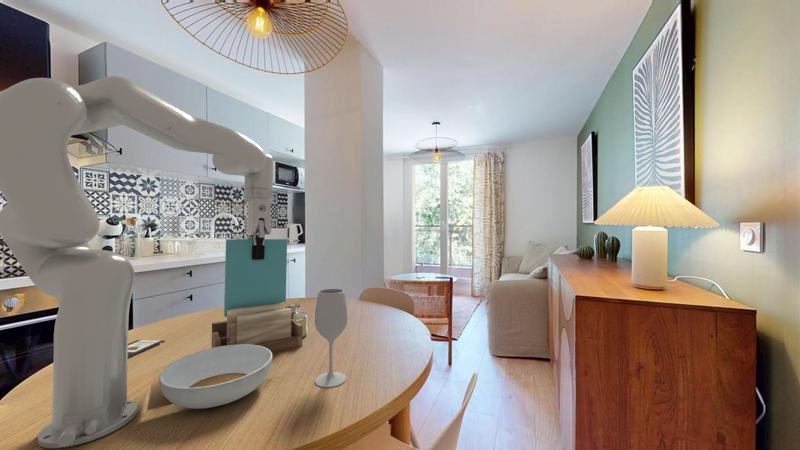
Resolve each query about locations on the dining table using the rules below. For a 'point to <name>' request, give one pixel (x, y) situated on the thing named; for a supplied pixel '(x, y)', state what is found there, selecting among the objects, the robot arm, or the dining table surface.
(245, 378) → the serving bowl
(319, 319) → the wineglass
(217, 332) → the walnut rack
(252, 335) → the plywood offcuts
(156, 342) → the chocolate bar
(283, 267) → the teal board
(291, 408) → the dining table surface
